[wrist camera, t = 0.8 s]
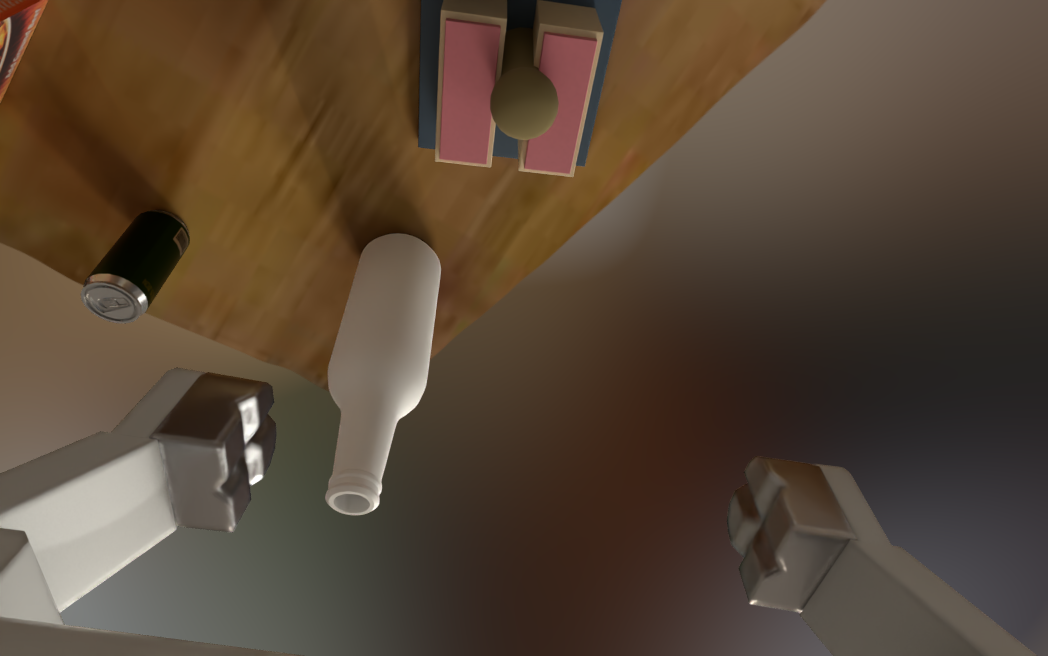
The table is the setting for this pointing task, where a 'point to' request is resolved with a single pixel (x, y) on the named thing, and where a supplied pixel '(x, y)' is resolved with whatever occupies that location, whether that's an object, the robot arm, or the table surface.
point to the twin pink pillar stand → (475, 67)
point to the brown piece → (522, 90)
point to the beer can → (136, 267)
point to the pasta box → (16, 34)
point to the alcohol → (380, 362)
